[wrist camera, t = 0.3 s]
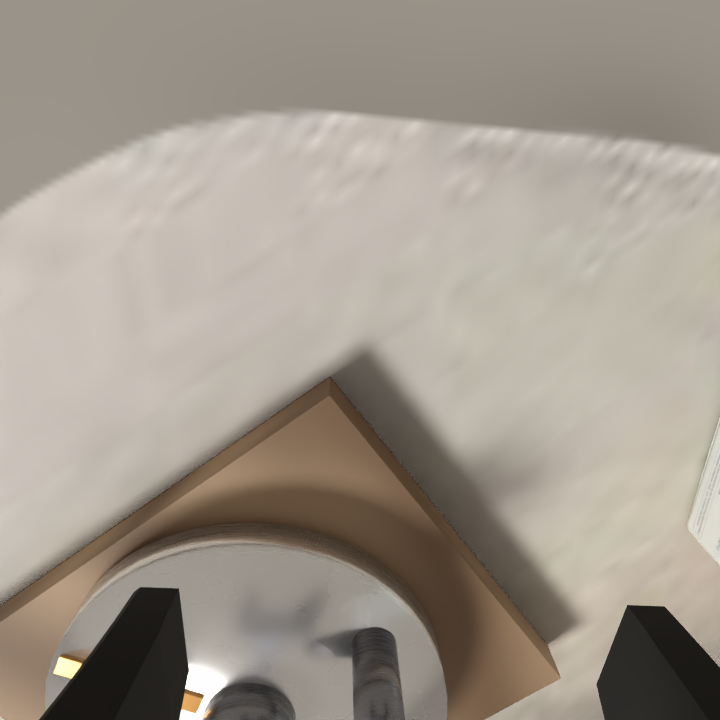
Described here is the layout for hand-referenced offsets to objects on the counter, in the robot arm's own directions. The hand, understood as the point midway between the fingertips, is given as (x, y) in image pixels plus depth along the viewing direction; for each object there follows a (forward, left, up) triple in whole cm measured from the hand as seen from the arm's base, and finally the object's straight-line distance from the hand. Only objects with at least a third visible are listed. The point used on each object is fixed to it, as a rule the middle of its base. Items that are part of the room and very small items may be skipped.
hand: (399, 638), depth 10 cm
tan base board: (-9, -6, -10) cm, 15 cm away
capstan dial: (-9, -6, -9) cm, 14 cm away
